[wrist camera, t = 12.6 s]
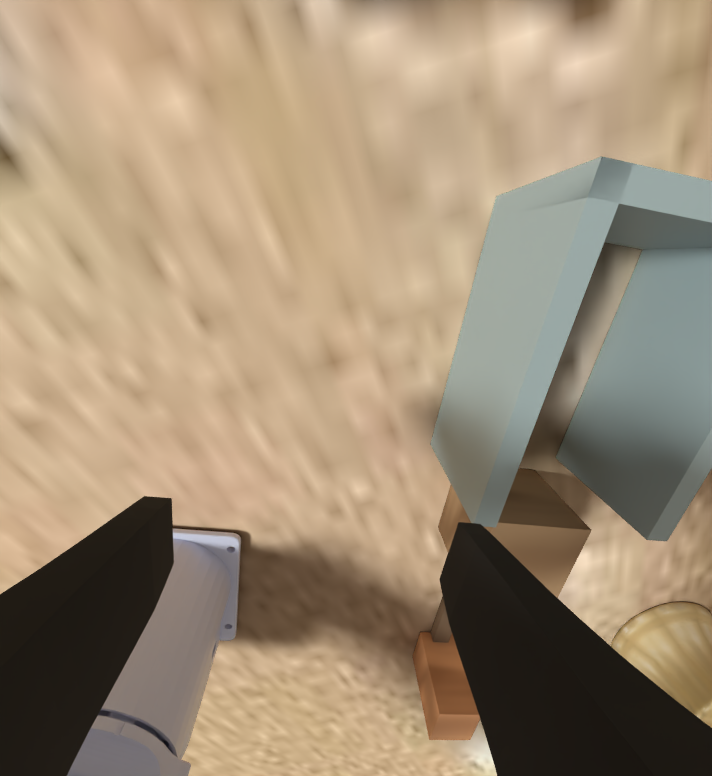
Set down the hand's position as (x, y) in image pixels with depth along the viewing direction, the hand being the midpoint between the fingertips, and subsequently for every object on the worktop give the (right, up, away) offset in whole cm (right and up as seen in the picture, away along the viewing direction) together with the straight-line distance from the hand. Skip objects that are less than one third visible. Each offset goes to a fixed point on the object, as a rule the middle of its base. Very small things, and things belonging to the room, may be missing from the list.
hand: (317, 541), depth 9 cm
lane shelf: (+11, +6, +10) cm, 16 cm away
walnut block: (+8, -9, +15) cm, 20 cm away
